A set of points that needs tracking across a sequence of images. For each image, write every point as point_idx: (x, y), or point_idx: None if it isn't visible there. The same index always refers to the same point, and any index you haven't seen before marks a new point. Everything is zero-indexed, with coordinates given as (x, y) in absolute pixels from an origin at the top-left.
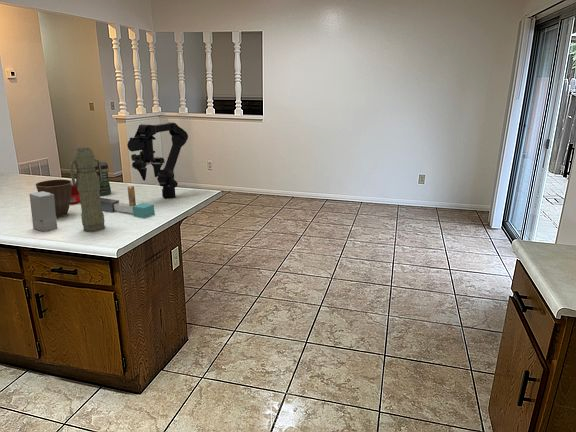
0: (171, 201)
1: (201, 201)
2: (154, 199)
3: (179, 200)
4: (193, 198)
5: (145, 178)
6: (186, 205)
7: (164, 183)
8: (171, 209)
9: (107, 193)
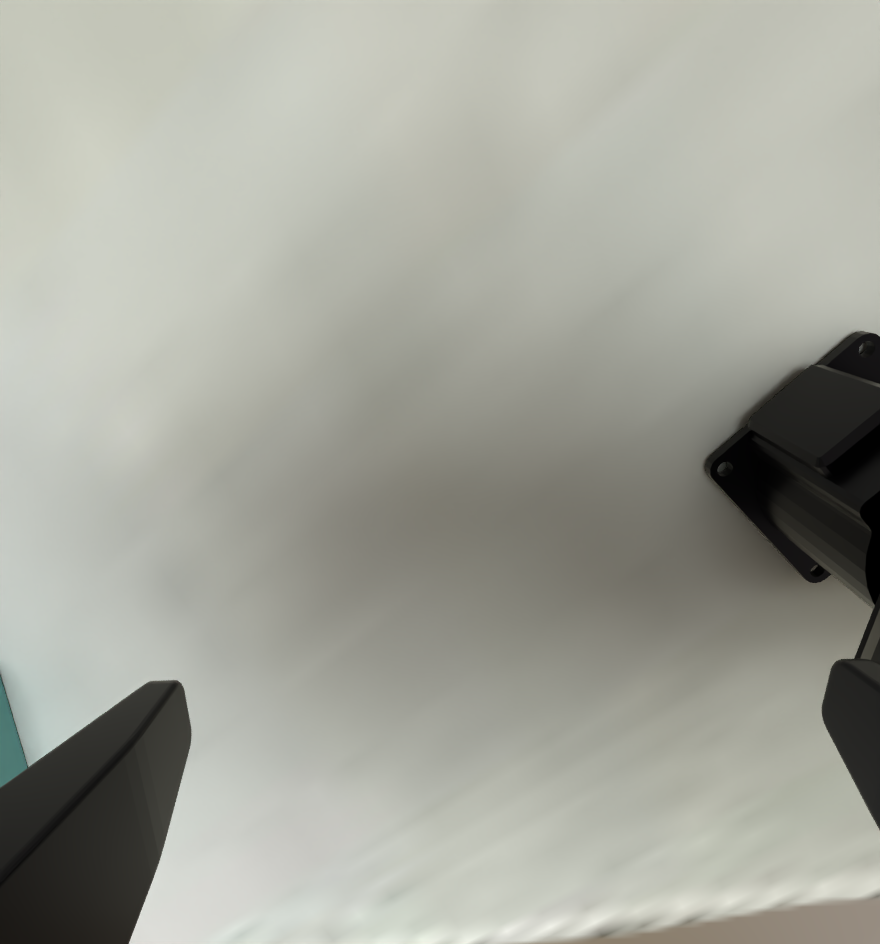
0: (613, 629)
1: (730, 900)
2: (630, 328)
3: (695, 685)
4: (839, 769)
5: (154, 830)
6: (516, 866)
7: (870, 641)
8: (298, 832)
9: None
